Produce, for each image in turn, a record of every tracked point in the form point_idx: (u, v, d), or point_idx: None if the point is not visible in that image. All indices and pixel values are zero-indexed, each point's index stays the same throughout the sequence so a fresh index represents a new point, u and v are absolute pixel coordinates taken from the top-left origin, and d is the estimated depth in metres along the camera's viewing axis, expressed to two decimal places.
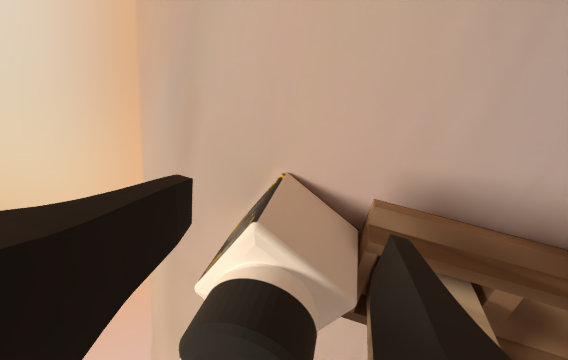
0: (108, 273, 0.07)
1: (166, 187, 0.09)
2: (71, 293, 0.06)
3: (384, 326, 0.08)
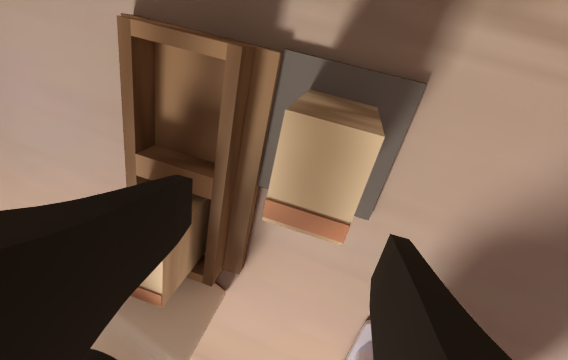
0: (108, 273, 0.07)
1: (166, 187, 0.09)
2: (71, 293, 0.06)
3: (384, 326, 0.08)
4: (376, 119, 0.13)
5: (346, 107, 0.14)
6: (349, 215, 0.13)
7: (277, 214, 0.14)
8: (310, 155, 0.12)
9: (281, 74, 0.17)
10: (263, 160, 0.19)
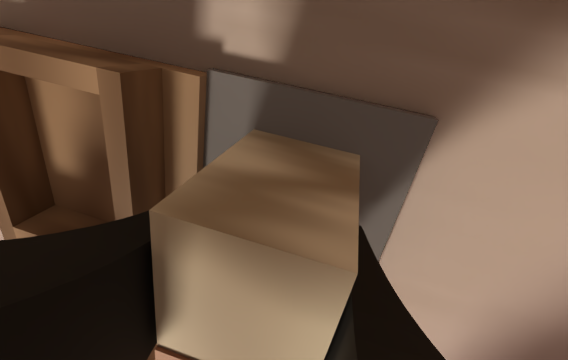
0: None
1: None
2: (131, 315, 0.06)
3: None
4: (351, 196, 0.07)
5: (301, 169, 0.08)
6: None
7: None
8: (215, 291, 0.06)
9: (210, 107, 0.11)
10: None
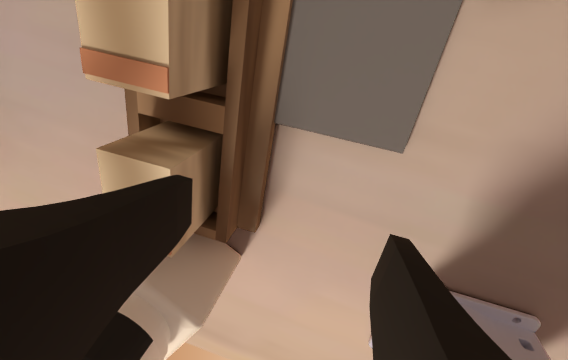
0: (108, 273, 0.07)
1: (166, 187, 0.09)
2: (71, 293, 0.06)
3: (384, 326, 0.08)
4: None
5: None
6: (164, 54, 0.11)
7: (98, 68, 0.12)
8: None
9: None
10: (280, 90, 0.17)
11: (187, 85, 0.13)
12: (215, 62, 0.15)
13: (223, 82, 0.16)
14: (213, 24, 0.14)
